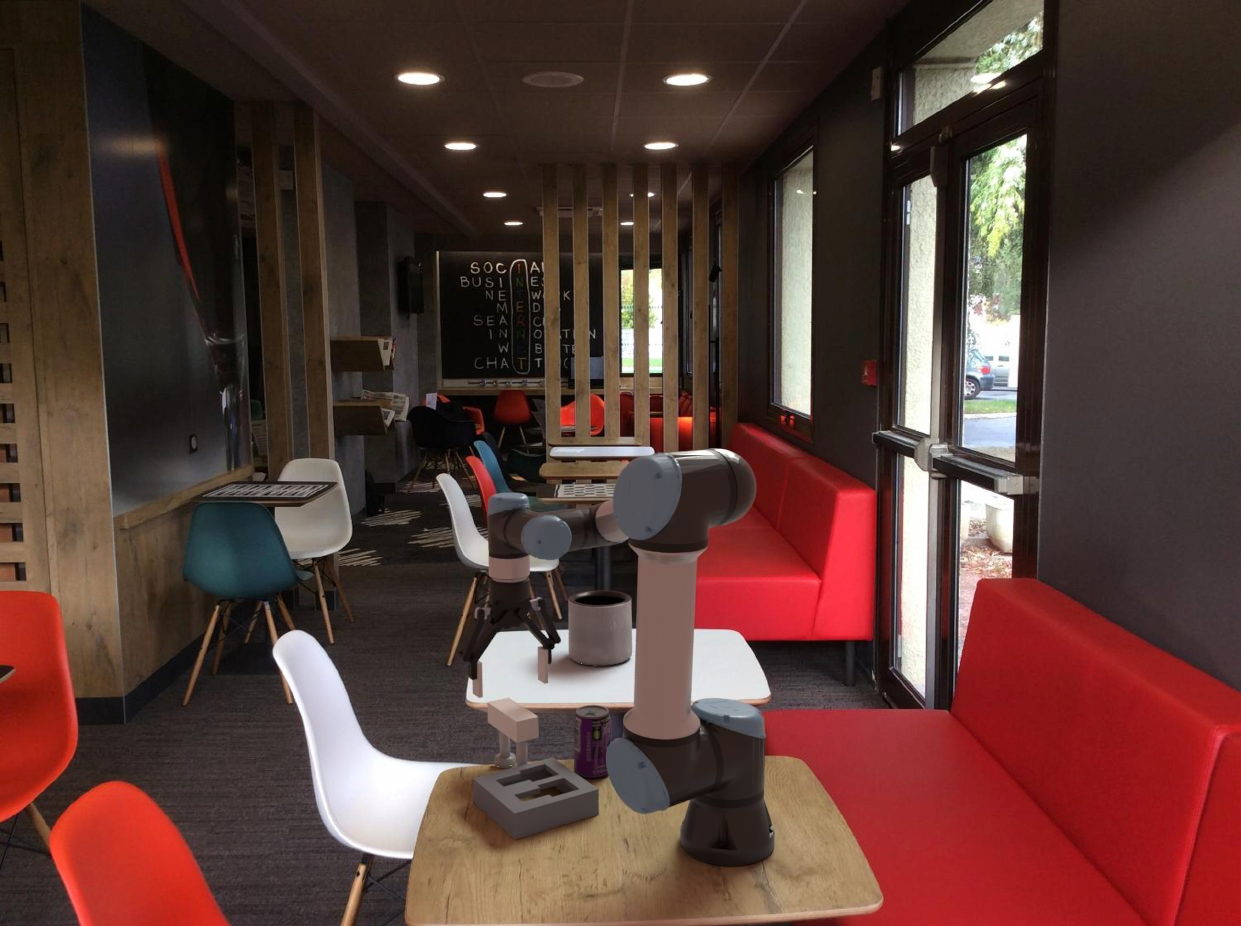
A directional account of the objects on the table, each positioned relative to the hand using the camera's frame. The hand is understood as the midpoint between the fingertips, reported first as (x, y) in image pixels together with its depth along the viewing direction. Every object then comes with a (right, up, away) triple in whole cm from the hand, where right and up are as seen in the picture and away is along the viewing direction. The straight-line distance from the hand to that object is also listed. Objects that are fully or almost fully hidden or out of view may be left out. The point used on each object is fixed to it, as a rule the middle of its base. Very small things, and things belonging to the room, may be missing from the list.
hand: (511, 688), depth 194 cm
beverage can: (+15, -16, +1) cm, 22 cm away
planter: (+15, -7, +68) cm, 70 cm away
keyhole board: (+6, -18, -14) cm, 23 cm away
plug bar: (0, -16, +2) cm, 16 cm away
